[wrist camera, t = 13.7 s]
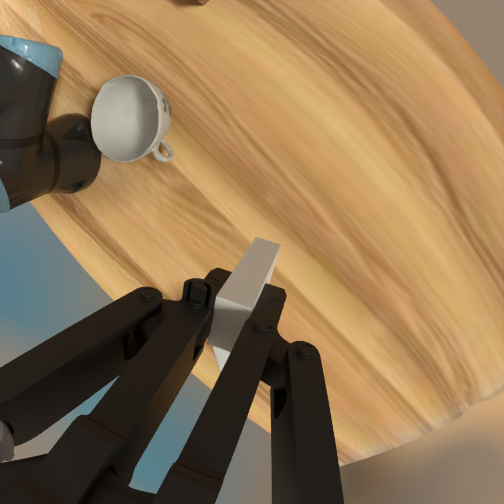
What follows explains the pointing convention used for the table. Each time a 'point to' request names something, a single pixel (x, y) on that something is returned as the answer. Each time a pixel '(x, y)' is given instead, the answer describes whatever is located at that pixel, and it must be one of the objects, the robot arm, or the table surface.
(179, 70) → the table surface
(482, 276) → the table surface
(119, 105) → the teacup
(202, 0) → the walnut corral
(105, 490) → the robot arm
